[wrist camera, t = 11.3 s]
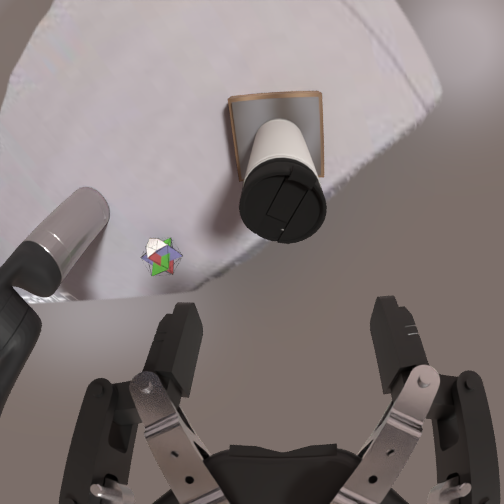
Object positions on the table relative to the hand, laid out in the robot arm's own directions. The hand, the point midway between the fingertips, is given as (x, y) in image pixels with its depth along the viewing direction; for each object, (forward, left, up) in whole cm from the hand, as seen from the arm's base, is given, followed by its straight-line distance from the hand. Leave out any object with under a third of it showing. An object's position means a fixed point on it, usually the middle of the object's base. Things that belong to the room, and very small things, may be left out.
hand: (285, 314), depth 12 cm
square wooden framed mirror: (0, 0, -33) cm, 33 cm away
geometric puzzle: (-22, -19, -33) cm, 44 cm away
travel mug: (0, 0, -29) cm, 29 cm away
